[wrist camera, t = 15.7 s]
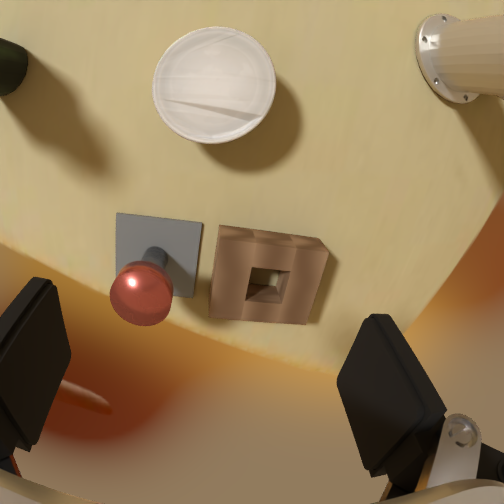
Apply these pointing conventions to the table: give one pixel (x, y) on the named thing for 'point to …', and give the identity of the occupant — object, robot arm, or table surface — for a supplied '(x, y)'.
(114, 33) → the table surface
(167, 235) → the slate mat
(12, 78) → the potion bottle
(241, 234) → the eye block
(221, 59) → the ramekin
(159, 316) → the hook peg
